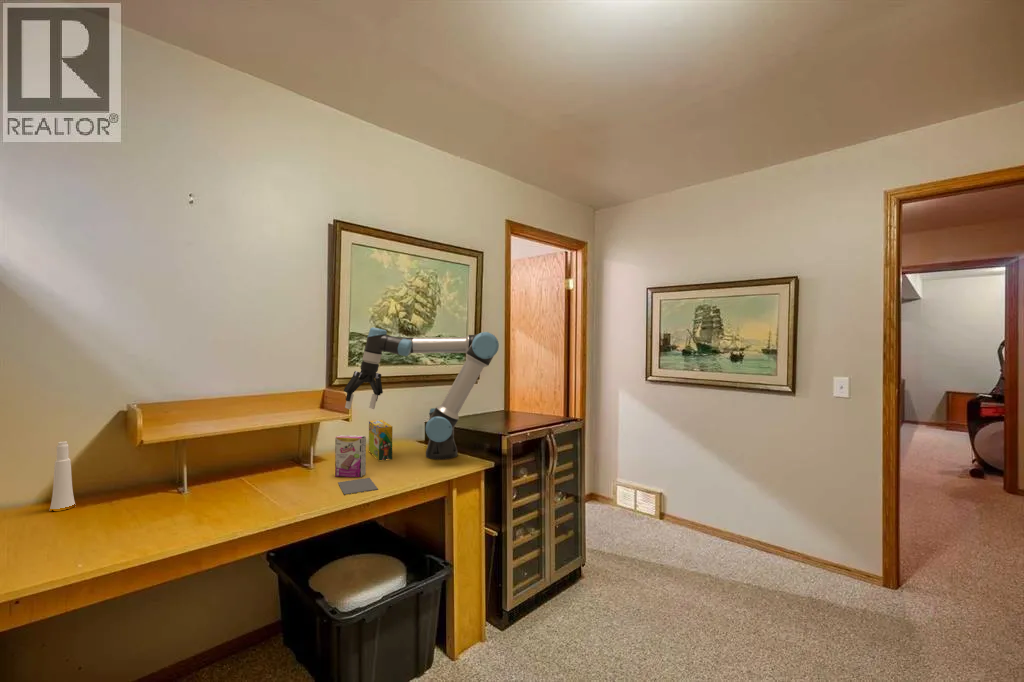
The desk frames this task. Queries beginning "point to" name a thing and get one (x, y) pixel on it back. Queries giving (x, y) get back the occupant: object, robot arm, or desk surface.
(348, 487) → the mat
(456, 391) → the robot arm
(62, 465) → the cosmetic bottle
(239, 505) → the desk surface
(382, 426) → the fingerpaint box
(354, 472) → the candy bar box
